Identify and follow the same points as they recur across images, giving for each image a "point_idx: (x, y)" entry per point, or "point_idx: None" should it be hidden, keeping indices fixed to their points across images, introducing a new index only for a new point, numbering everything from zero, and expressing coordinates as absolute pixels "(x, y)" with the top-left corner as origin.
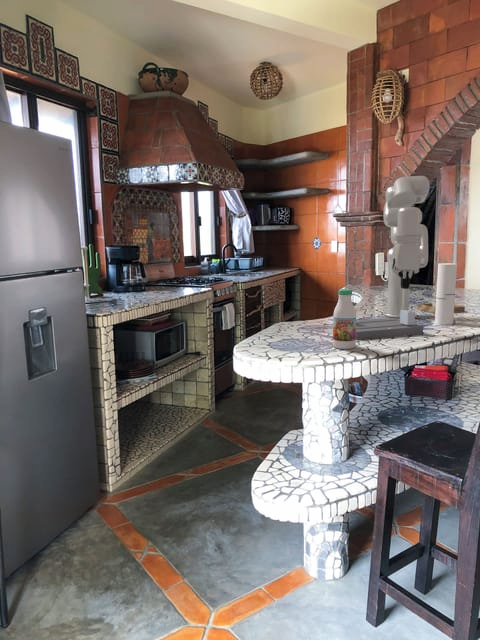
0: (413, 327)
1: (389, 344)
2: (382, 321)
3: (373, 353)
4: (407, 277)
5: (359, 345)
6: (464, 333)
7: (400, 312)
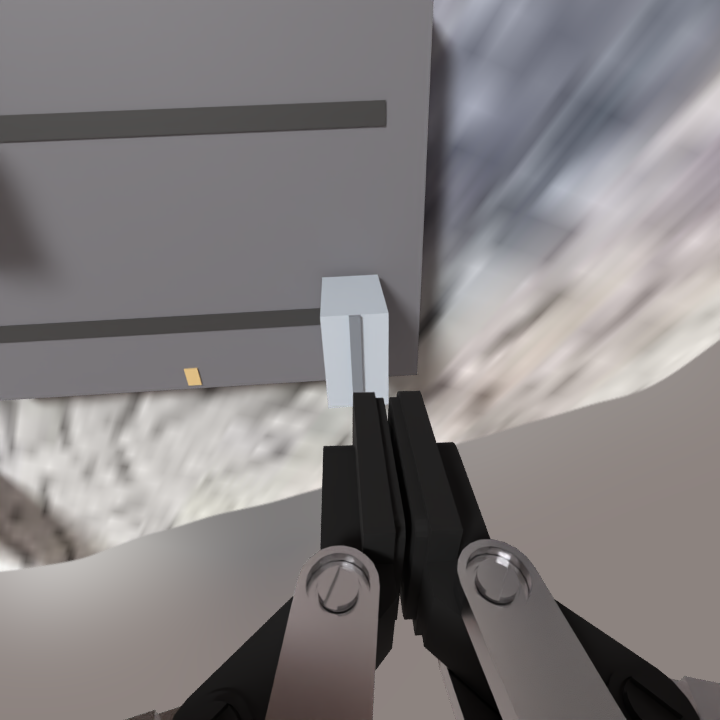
0: None
1: (155, 472)
2: (235, 134)
3: (57, 550)
4: (427, 633)
5: (11, 461)
6: (605, 385)
7: (320, 310)
